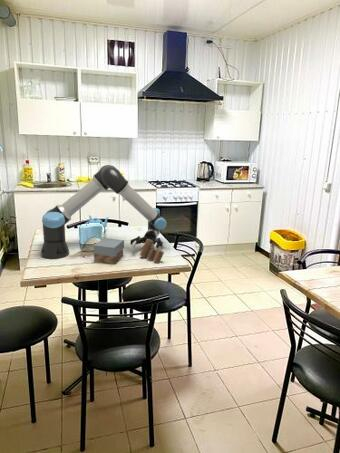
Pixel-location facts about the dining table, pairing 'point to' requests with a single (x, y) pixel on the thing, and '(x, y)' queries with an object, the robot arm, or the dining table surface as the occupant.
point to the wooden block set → (151, 252)
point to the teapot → (97, 221)
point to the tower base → (108, 258)
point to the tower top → (109, 247)
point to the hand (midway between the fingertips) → (143, 247)
